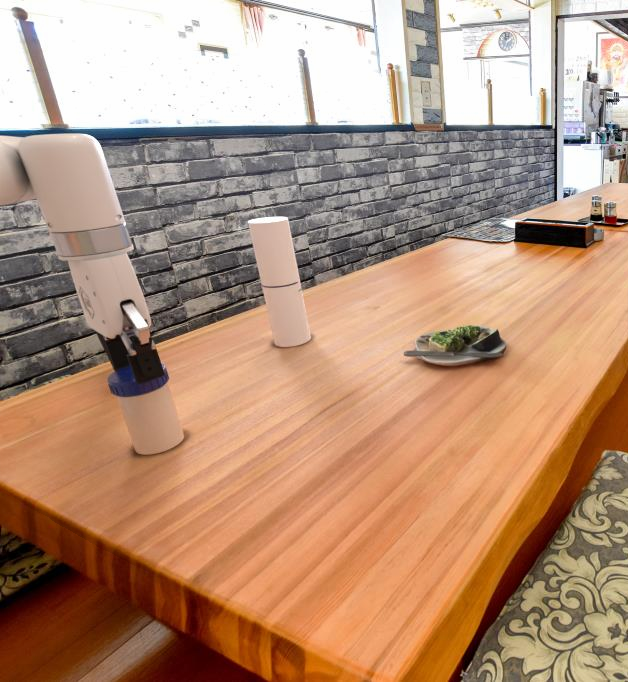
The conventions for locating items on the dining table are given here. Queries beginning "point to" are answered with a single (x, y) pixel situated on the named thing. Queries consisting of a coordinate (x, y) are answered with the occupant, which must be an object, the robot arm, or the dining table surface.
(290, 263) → the cylindrical container
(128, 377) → the lid
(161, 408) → the jar
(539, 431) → the dining table surface
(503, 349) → the salad plate
